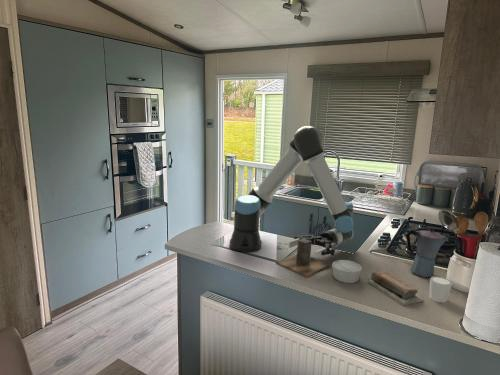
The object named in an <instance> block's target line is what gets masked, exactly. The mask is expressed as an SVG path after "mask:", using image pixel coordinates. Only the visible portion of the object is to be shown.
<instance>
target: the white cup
mask: <svg viewBox="0 0 500 375" xmlns="http://www.w3.org/2000/svg"><path fill="white" fill-rule="evenodd" d="M452 286H453V282H452V281H450V280H449V279H447V278H445V277H441V276H433V277H431V278H429V293H428V297H430V298H431V299H430V298H429V299H430V300H431V301H433V300H434V301H433V302H436V301H437V302H436V303H439V302H446V301H447V302H448V299H449V296H450V293H451V290H452ZM447 302H446V303H447Z"/></svg>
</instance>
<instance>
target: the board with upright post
mask: <svg viewBox="0 0 500 375" xmlns="http://www.w3.org/2000/svg"><path fill="white" fill-rule="evenodd" d="M311 243H312V241H310V240H307V239H301V240H298V245H297V250H296V253H295V254H293V255H290V256H287V257H285V258H283V259H281V260H280V259H279V260H277V261H276V262H275V264H276V265H278V266H281V267H283V268H285V269H287V270H290V271H292V272H294V273H297V274H298V275H300V276H302V277H305V278H308V277H310V276H312V275H314V274H316V273H319V272H320V271H323V270H325V269H327V268H329V267H330V266H331V265H330V264H329V263H326V262H324V261H322V260H319V259H318V258H315V257H311V253H312V244H311Z"/></svg>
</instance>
